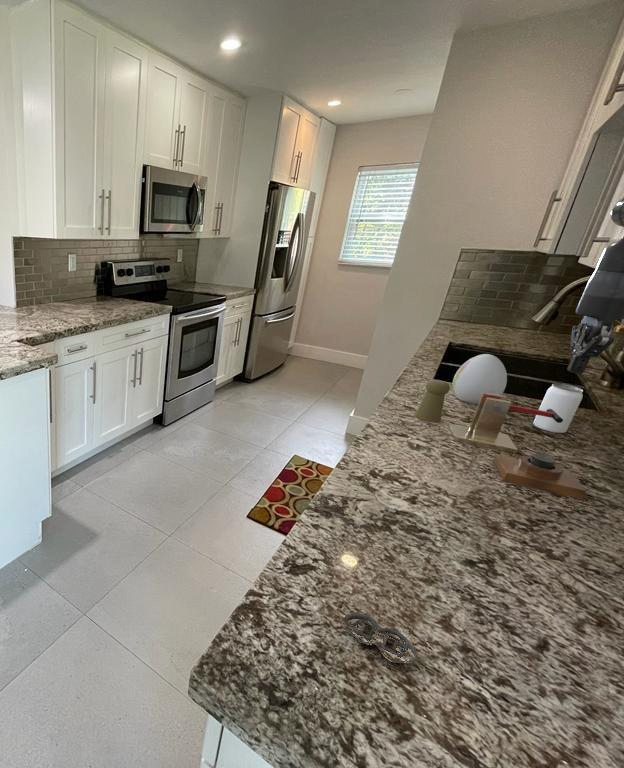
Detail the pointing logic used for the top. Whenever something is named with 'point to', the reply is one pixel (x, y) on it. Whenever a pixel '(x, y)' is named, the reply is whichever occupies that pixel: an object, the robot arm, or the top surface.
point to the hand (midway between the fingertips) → (574, 372)
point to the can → (559, 407)
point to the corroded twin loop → (380, 630)
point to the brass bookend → (486, 425)
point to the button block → (538, 476)
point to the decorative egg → (479, 378)
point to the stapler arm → (536, 412)
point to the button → (542, 461)
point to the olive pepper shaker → (433, 401)
